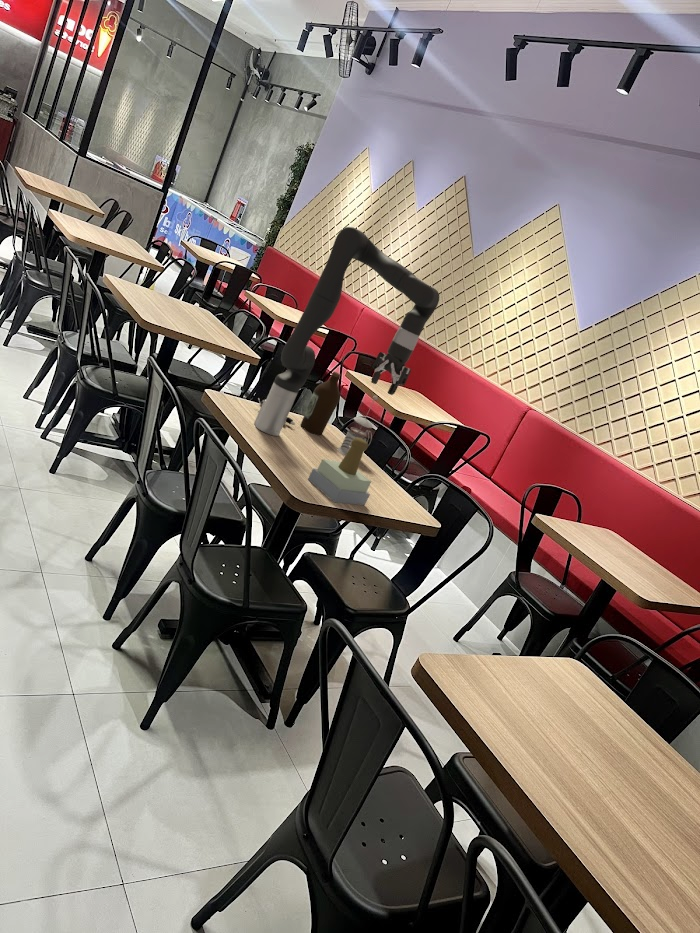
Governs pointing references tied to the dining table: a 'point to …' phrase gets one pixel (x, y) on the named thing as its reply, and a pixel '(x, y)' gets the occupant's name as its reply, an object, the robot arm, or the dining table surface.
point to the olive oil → (322, 405)
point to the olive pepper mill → (353, 456)
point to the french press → (356, 433)
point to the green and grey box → (340, 483)
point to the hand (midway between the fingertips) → (381, 388)
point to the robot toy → (286, 418)
